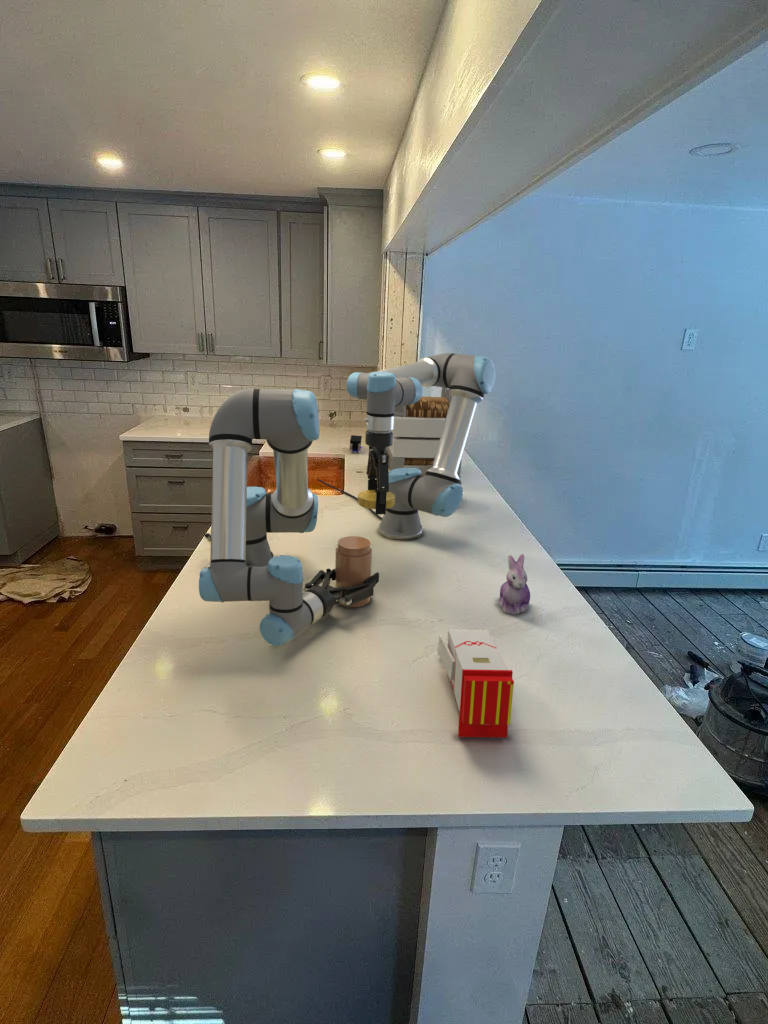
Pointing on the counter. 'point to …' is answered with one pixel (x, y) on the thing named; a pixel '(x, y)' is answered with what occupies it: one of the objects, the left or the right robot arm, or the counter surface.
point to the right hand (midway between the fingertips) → (376, 507)
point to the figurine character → (355, 443)
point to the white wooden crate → (418, 431)
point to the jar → (353, 563)
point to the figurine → (515, 588)
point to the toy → (478, 682)
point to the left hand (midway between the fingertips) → (361, 572)
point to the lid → (374, 499)
